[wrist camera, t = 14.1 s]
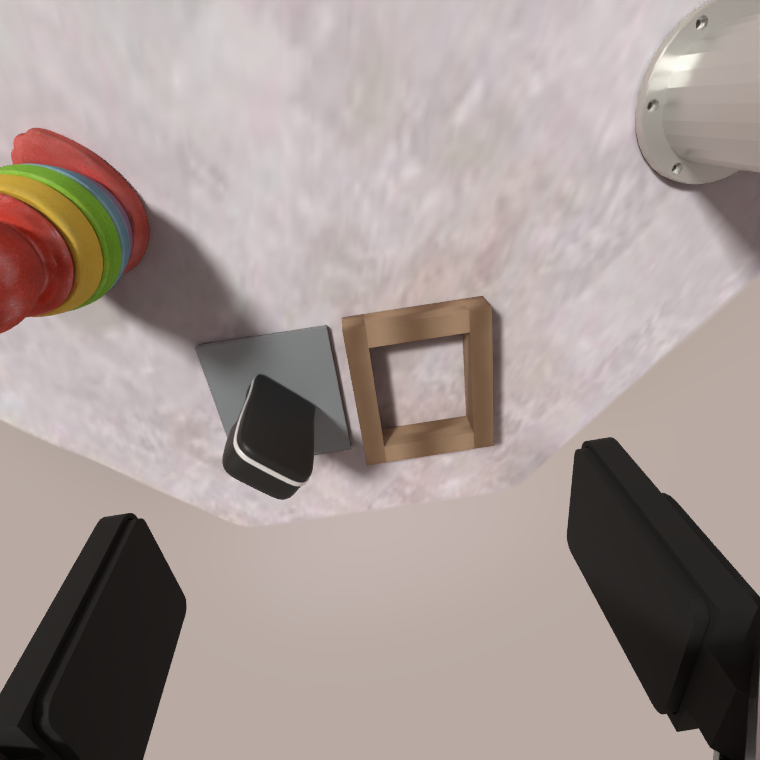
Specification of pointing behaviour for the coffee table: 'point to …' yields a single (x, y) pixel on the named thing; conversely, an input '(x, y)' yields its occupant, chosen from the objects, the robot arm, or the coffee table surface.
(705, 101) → the robot arm
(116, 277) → the stacking bear
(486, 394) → the frame
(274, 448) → the battery charger
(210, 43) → the coffee table surface
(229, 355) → the mat
